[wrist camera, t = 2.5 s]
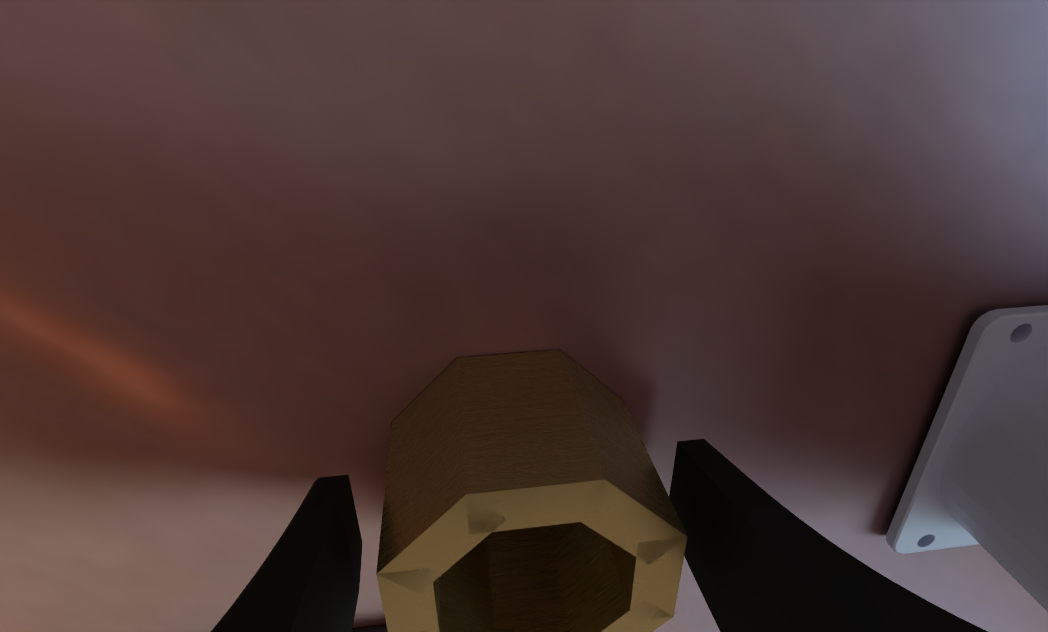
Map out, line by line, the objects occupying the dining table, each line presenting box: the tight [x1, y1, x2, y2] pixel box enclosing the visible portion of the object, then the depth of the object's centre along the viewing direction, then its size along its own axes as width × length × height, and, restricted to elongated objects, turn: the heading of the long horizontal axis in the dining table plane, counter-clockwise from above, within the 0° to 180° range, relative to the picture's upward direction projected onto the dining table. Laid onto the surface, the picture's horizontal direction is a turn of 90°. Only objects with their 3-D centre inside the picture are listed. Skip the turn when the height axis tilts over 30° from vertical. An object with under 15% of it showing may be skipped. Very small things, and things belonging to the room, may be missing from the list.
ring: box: [377, 350, 687, 632], centre depth 12 cm, size 5×5×4 cm
